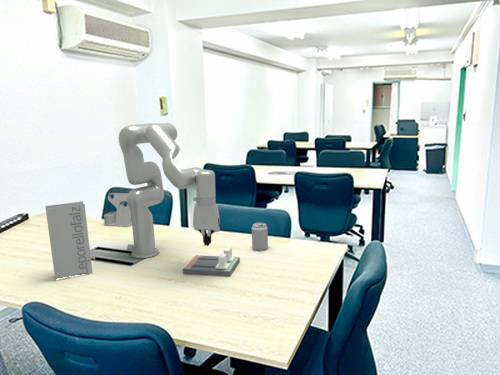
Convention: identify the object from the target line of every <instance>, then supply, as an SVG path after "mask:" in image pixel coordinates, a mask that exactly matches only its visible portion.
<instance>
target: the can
mask: <svg viewBox="0 0 500 375" xmlns="http://www.w3.org/2000/svg"><path fill="white" fill-rule="evenodd" d="M268 234H269V232H268V226H267V223H264V222H255V223H253V224H252V227H251V244H252V245H251V247H252V249H254V250H255V251H259V252H261V251H266V250H267V249H268V247H269V238H268V237H269V235H268Z"/></svg>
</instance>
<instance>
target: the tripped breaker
mask: <svg viewBox="0 0 500 375" xmlns="http://www.w3.org/2000/svg"><path fill="white" fill-rule="evenodd" d="M218 261H219V263H218V264H217V266H216V267H215V269H226V270H227V269H228V268H229V266H230V265H231V263H227V254H224V253H220V254H219V257H218Z"/></svg>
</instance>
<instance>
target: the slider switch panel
mask: <svg viewBox="0 0 500 375" xmlns="http://www.w3.org/2000/svg"><path fill="white" fill-rule="evenodd" d="M219 256H220V255H219ZM219 256H218V255H216V256H215V255H199V254H197V255H195V256H194V257H193V258H192V259H191V260H190V261H189V262H188V264H186V265H185V267H183V268H182V274H183V275H197V276H199V275H200V276H215V277H231V276H232V274H233V273H234V271H235V270H236V269H237V267H238V266H239V264H240V263H241V258H240V257H236V256H235V259H234V261H233V262H227V263H231V265H230V266H229V268H228V269H227V270H226V269H215V267H216V266H217V264H218V263H219V261H218V257H219Z"/></svg>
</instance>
